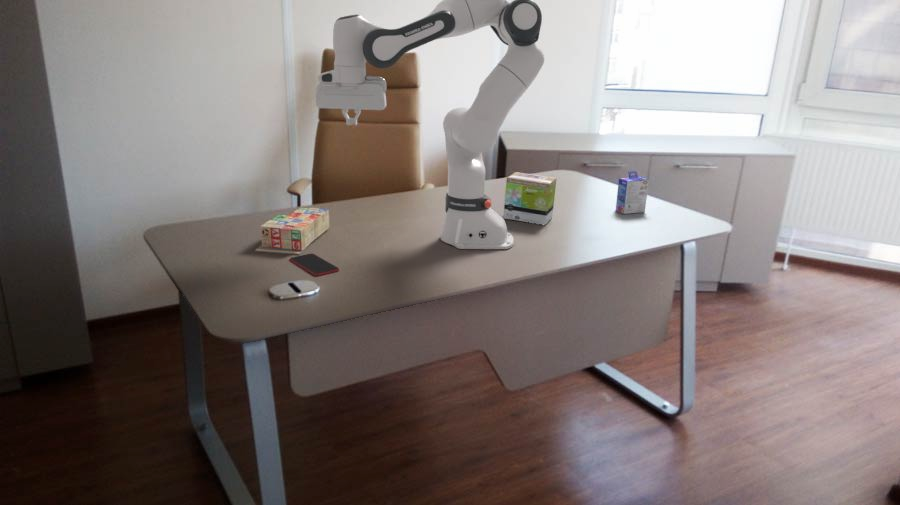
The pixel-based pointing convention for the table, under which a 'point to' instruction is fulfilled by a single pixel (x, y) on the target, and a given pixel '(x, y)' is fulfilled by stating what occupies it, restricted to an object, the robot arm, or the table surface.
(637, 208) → the ink cartridge box
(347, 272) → the table surface
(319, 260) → the smartphone
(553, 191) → the tea box
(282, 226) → the stack of blocks
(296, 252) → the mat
